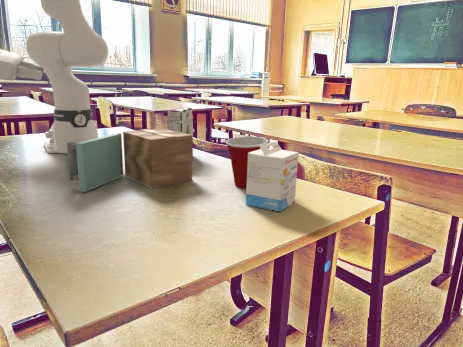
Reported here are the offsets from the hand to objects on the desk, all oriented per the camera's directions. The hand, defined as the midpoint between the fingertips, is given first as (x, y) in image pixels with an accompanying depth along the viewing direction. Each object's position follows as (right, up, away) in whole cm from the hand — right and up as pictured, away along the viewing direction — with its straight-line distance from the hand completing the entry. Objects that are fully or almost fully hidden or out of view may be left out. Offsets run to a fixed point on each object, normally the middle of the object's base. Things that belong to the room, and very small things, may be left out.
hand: (42, 73), depth 83 cm
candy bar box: (+27, -18, +36) cm, 49 cm away
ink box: (+52, -30, -3) cm, 60 cm away
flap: (+9, -25, +8) cm, 28 cm away
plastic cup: (+47, -26, +10) cm, 55 cm away
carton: (+24, -24, +14) cm, 37 cm away
